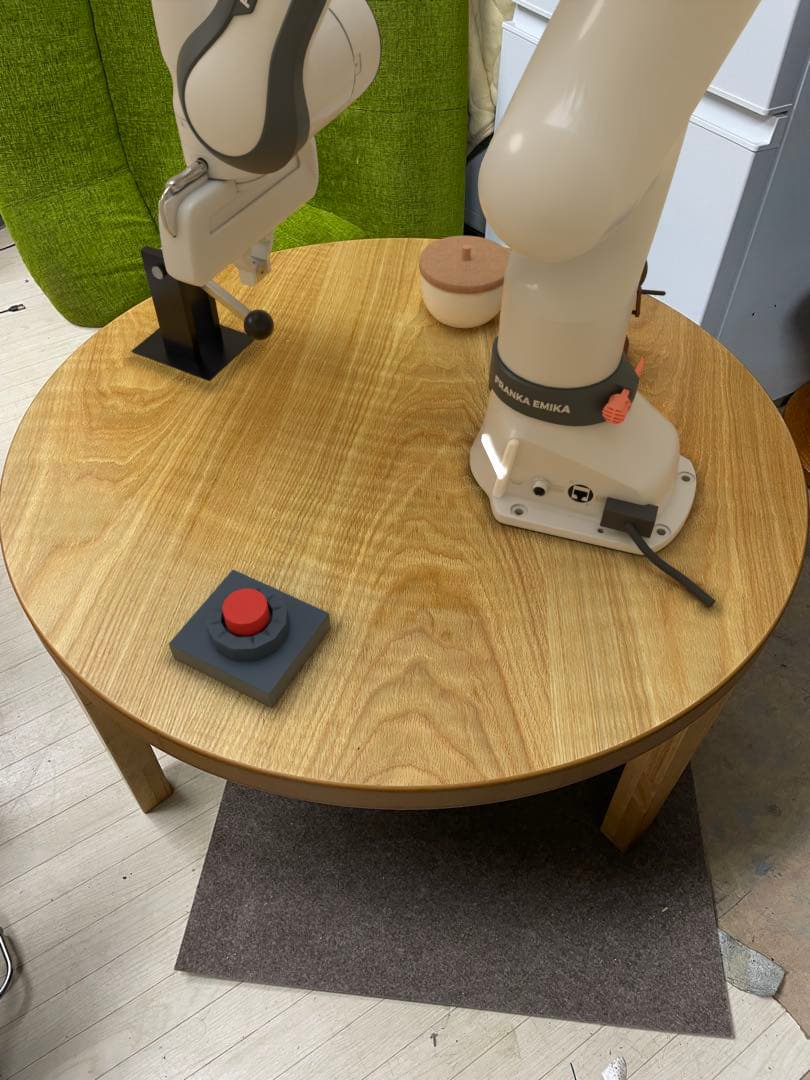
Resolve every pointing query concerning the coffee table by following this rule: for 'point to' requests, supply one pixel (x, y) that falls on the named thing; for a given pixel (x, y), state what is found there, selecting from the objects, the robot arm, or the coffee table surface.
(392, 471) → the coffee table surface
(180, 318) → the bracket
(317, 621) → the button block
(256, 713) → the coffee table surface
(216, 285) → the tap lever
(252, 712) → the coffee table surface
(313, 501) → the coffee table surface
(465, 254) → the trinket box
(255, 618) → the button
